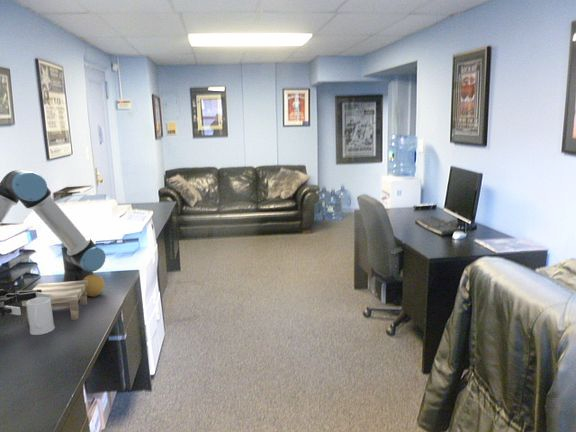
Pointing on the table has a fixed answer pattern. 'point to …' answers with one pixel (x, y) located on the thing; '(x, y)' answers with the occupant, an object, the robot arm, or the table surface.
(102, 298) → the table surface
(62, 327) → the table surface
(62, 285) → the footstool
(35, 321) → the mug
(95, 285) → the stress ball
